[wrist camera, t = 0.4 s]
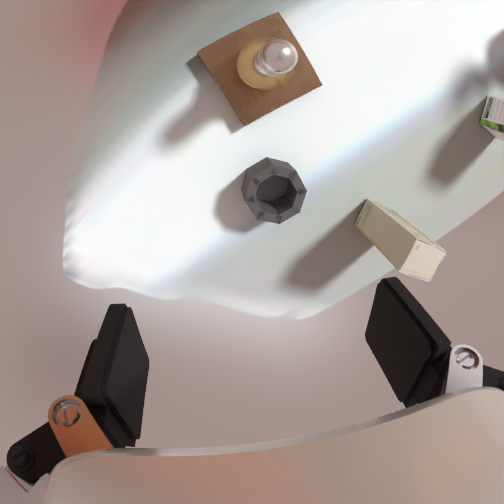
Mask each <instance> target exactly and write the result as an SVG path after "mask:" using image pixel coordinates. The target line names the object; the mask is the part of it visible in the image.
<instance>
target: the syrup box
mask: <svg viewBox="0 0 504 504" xmlns="http://www.w3.org/2000/svg"><path fill="white" fill-rule="evenodd" d="M480 124H481V125H482V126H483V127H484V128H486V129H487V130H488V131H489V132H490V133H491V134H492V135H493V136H494V137H496V138H497V139H500V140H503V141H504V99H501V98H497V97H493V96H487V100H486V104H485V107H484V111H483V114H482V118H481V121H480Z"/></svg>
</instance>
